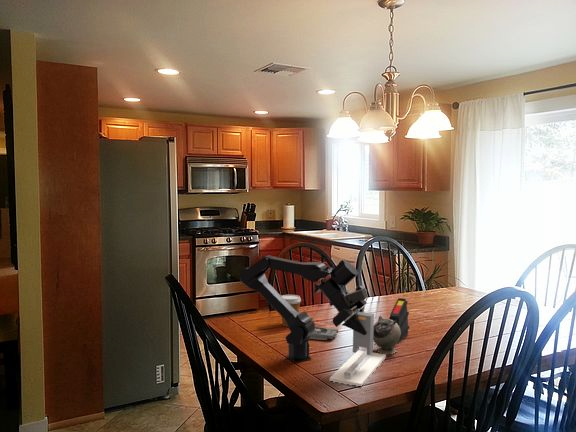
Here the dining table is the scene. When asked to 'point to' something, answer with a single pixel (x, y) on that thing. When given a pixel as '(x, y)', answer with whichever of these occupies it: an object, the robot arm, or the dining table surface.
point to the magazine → (401, 316)
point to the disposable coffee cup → (293, 301)
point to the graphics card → (323, 333)
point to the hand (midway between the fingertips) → (367, 332)
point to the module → (361, 339)
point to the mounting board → (362, 373)
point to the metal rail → (357, 365)
